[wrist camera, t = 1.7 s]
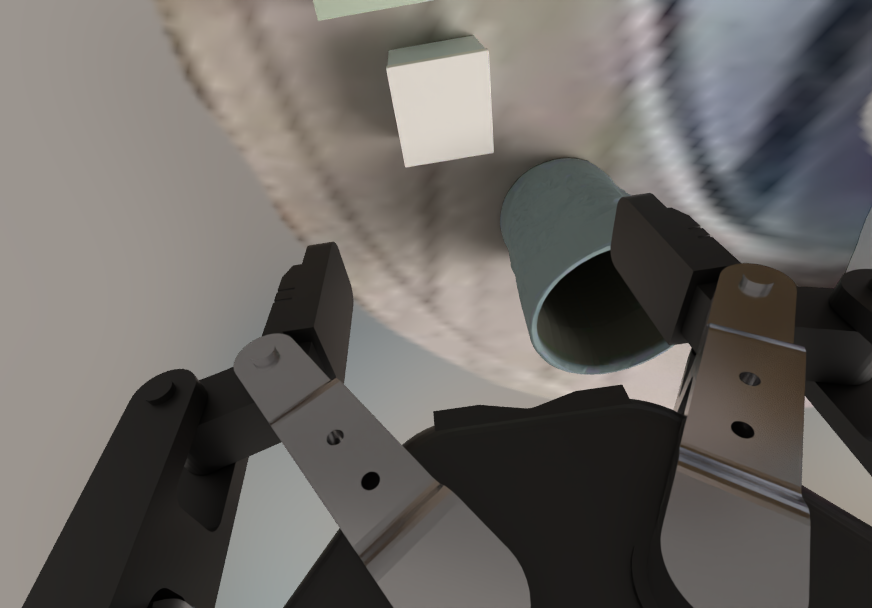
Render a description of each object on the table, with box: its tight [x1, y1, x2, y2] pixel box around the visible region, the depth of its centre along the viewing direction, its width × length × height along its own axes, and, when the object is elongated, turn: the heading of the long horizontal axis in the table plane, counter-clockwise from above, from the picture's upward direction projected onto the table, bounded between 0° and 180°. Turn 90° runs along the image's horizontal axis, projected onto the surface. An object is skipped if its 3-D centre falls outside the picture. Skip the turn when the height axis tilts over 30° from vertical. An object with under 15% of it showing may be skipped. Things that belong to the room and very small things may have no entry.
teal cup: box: [500, 158, 674, 375], centre depth 28 cm, size 10×10×12 cm
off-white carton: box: [386, 35, 494, 167], centre depth 24 cm, size 5×5×5 cm
